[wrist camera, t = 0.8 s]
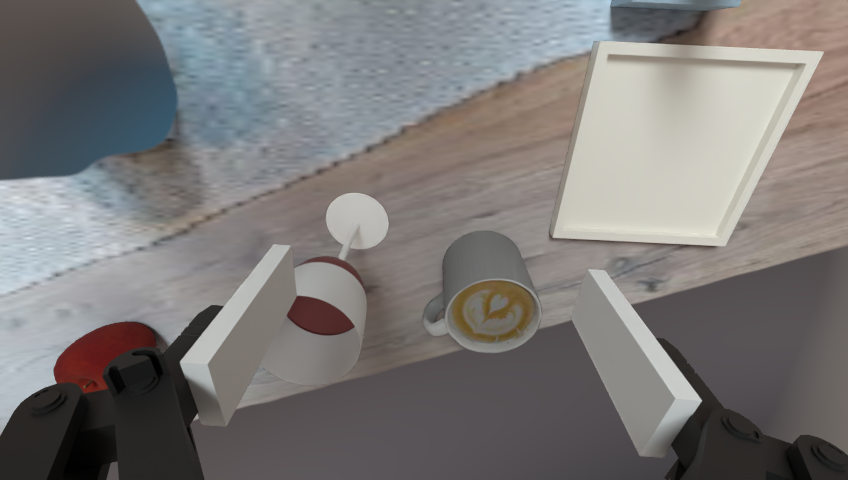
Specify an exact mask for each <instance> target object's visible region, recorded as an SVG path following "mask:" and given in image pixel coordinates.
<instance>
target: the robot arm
mask: <svg viewBox="0 0 848 480" xmlns="http://www.w3.org/2000/svg"><path fill="white" fill-rule="evenodd" d="M296 297H297V291H296V282H295V273H294V265H293V256H292V248H291V246H289V245H276V244H274V245H273V246H272V247H271V248H270V250H269V251H268V252H267V253H266V255H265V256H264V257H263V258H262V260H261V261H260V262H259V263H258V265H257V266H256V267H255V268H254V270H253V271H252V272H251V273H250V275H249V276H248V277H247V278H246V280H245V281H244V282H243V283H242V285H241V286H240V287H239V288H238V290H237V291H236V292H235V293H234V295H233V296H232V297H231V298H230V300H229V301H228V302H227V303H226V305H225V306H217V305H211V306H210V307H208V308H207V309H205V310H203V311H202V312H200V313H199V314H198V315H197V316H196V317H195V318H194V319H193V320H192V322H191V323H190V324H189V326H188V327H186V328H185V330H184V331H183V332H182V333H181V336H178V338H177V339H176V340H175V341H174V342H173V343H172V344H171V346H170V347H169V348H168V349H167V350H166V351H165V352H164V354H162V352H161V351H160V349H157V348H155V347H140V348H136V349H132V350H129V351H127V352H125V353H123V354H120V355H119V356H117V357H116V358H115V359H113V360H112V361H110V363H109V364H108V365H107V366H106V367H105V368H104V371H103V374H102V377H103V379H104V381H105V383H106V385H107V387H108V389H105V390H99V391H94V392H88V393H84V392H83V391H82V389H81V388H80V386H79V385H78V384H75V383H70V382H66V383H58V384H55V385H52V386H49V387H46V388H43V389H41V390H40V391H38V392H36V393H34V394H32V395H31V396H29V397H28V398H27V399H25V400H24V401H23V402H21V403H20V405H19V406H18V407H17V408H16V410H15V411H14V412H13V414H12V416H11V418H10V420H9V421H8V423H7V425H6V427H5V429H4V430H3V432H2V434H1V436H0V480H106V479H107V475H108V471H109V468H110V464H111V463H112V462H116V461H118V472H119V480H204V476H203V472H202V468H201V464H200V461H199V457H198V453H197V449H196V445H195V441H194V437H193V434H192V430H191V427H190V424H191V422H192V421H193V419H194V418H195V416H196V414H197V413H198V416H199V419H200V422H201V424H202V425H213V426H227V424H228V422H229V420H230V418H231V417H232V415H233V413H234V411H235V409H236V407H237V406H238V404H239V402H240V400H241V398H242V396H243V395H244V393H245V391H246V389H247V387H248V385H249V384H250V382H251V380H252V378H253V376H254V374H255V372H256V371H257V369H258V367H259V365H260V363H261V361H262V360H263V358H264V356H265V354H266V352H267V350H268V349H269V347H270V345H271V343H272V341H273V339H274V338H275V336H276V334H277V332H278V330H279V328H280V326H281V325H282V323H283V321H284V319H285V317H286V315H287V314H288V312H289V310H290V308H291V306H292V304H293V303H294V301H295V299H296ZM571 319H572V321H573V323H574V325H575V327H576V329H577V331H578V333H579V335H580V337H581V339H582V341H583V343H584V344H585V347H586V349H587V351H588V353H589V355H590V357H591V359H592V361H593V363H594V365H595V367H596V369H597V371H598V373H599V375H600V377H601V379H602V381H603V383H604V385H605V387H606V389H607V391H608V393H609V395H610V397H611V399H612V401H613V403H614V405H615V407H616V409H617V411H618V413H619V415H620V417H621V419H622V421H623V423H624V425H625V427H626V429H627V431H628V433H629V435H630V437H631V439H632V441H633V443H634V445H635V447H636V449H637V451H638V453H639V455H640V456H649V457H664V456H665V454H666V453H667V452H668V450H669V449H670V447H671V446H672V447H673V449H674V451H675V452H676V454H677V456H678V459H677V461H676V462H675V464H674V465H673V467H672V468H671V469H670V471H669V472H668V473H667V475H666V476H665V479H666V480H669V479H670V480H848V455H847V454H845V453H844V452H843V451H842V450H840V449H839V448H837V447H836V446H834V445H833V444H831V443H829V442H827V441H825V440H823V439H820V438H818V437H814V436H810V435H800V436H799V437H798V438H797V439H796V440H795V441H794V443H793V444H791V443H788V442H785V441H781V440H779V439H776V438H772V437H769V436H766V435H763V434H762V433H761V431H760V430H759V428H758V427H757V426H755V425H754V424H753V423H752V422H751V421H750V420H748V419H747V418H745V417H744V416H742V415H741V414H739V413H736V412H734V411H732V410H729V409H725V408H724V407H723V406H722V405H721V403H720V402H719V401H718V400H717V398H716V397H715V396H714V395H713V393H712V392H711V391H710V390H709V388H708V387H707V386H706V385H705V383H704V382H703V381H702V379H701V378H700V377H699V376H698V374H697V373H695V372H694V369H693V368H692V367H691V366H690V364H688V363H687V361H686V359H685V358H684V357H683V356H682V354H681V353H680V352H679V351H678V349H676V348H675V347H674V346H673V345H671V344H670V343H669V342H668V341H666V340H665V339H661V338H655V337H654V336H653V334H652V333H651V332H650V330H649V329H648V328H647V326H646V325H645V324H644V322H643V321H642V320H641V318H640V317H639V316H638V314H637V313H636V312H635V310H634V309H633V308H632V306H631V305H630V304H629V302H628V301H627V300H626V298H625V297H624V296H623V294H622V293H621V292H620V290H619V289H618V288H617V286H616V285H615V284H614V282H613V281H612V280H611V278H610V277H609V276H608V274H607V273H606V272H605V270H593V269H587V272H586V275H585V277H584V280H583V283H582V286H581V289H580V291H579V294H578V297H577V300H576V303H575V306H574V308H573V311H572V314H571Z"/></svg>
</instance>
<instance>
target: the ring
mask: <svg viewBox="0 0 848 480" xmlns="http://www.w3.org/2000/svg"><path fill="white" fill-rule="evenodd" d="M740 2H741V0H612V2H611V6H612V7H633V8H654V9H674V10H695V11H710V10H717V9H725V8H733V7H739V5H740Z"/></svg>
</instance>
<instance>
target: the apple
mask: <svg viewBox="0 0 848 480" xmlns="http://www.w3.org/2000/svg"><path fill="white" fill-rule="evenodd" d="M140 347H155V348H156V340H155V337H154V334H153V332H152V331H151V330H150V329H149V328H148V327H146V326H145V325H143V324H140V323H136V322H119V323H114V324H110V325H106V326H103V327H100V328H98V329H96V330H94V331H92V332H90V333H88V334H86V335H84V336H83V337H81V338H79V339H78V340H76V341H75V342H74V343H73V344H71V345H70V346H69V347H68V348H67V349H66V350H65V351H64V352H63V353H62V354H61V355H60V356H59V358H58V359H57V362H56V364H55V367H54V376H55V380H56V382H57V384H58V383H66V382H70V383H75V384H78V385H79V386H80V388H81V389H82V391H83V392H84V393H88V392H94V391H99V390H105V389H108V387H107V385H106V383H105V381H104V379H103V377H102V374H103V371H104V368H105V367H106V366H107V365H108V364H109V363H110V361H112V360H113V359H115V358H116V357H117V356H119V355H120V354H123V353H125V352H127V351H129V350H132V349H136V348H140Z"/></svg>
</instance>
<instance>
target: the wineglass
mask: <svg viewBox="0 0 848 480" xmlns="http://www.w3.org/2000/svg"><path fill="white" fill-rule="evenodd" d="M326 223H327V227H328V230H329V231H330V233H331V234H332V236H333V237H334V238H335V239H336V240H337V241H338V242H339V243H341V244H343V247H342V249H341V252H340V254H339V256H338V258H335V257H329V256H324V257H316V258H312V259H310V260H307V261H305V262H303V263H302V264H300V265H298V266H297V267H295V268H294V273H295V282H296V291H297V297H296V299H295V301H294V303H293V304H292V306H291V308H290V310H289V312H288V314H287V315H286V317H285V319H284V321H283V323H282V325H281V326H280V328H279V330H278V332H277V334H276V336H275V338H274V339H273V341H272V343H271V345H270V347H269V349H268V350H267V352H266V354H265V356H264V358H263V360H262V361H261V363H260V365H261V366H262V367H263V368H264V369H266V370H267V371H268V372H269V373H271V374H273V375H274V376H276V377H278V378H280V379H282V380H284V381H287V382H290V383H294V384H299V385H307V386H317V385H324V384H328V383H332V382H334V381H337V380H339V379H341V378H342V377H344V376H345V375H347V374H348V373H349V372H350V371H351V370H352V369H353V367H354V366H355V364H356V363H357V361H358V358H359V355H360V351H361V347H362V342H363V336H364V330H365V323H366V313H367V300H366V293H365V289H364V285H363V282H362V280H361V277H360V276H359V274H358V273H357V271H356V270H355V269H354V268H353V267H352V266H351V265H350V264H349V263H347V262H345V259H346V257H347V254H348V252H349V249H350V248H354V249H368V248H371V247H373V246H376V245H377V244H378V243H380V242H381V241H382V240H383V239H384V237H385V236H386V234H387V231H388V226H389V222H388V216H387V214H386V212H385V210H384V208H383V206H382V205H381V204H380V203H379V202H378V201H377V200H375V199H373V198H372V197H370V196H368V195H365V194H361V193H346V194H344V195H341V196H339V197H337V198H336V199H335V200H334V201H333V202H332V203H331V204H330V206H329V208H328V210H327V214H326Z"/></svg>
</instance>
